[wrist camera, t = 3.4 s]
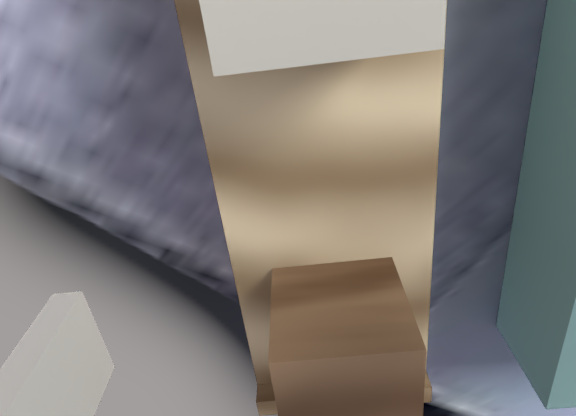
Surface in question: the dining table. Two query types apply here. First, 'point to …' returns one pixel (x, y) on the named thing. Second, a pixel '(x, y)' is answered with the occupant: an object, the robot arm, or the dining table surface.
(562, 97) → the dock
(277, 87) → the board
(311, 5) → the light grey cube
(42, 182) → the dining table surface
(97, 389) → the robot arm
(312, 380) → the brown wooden cube
